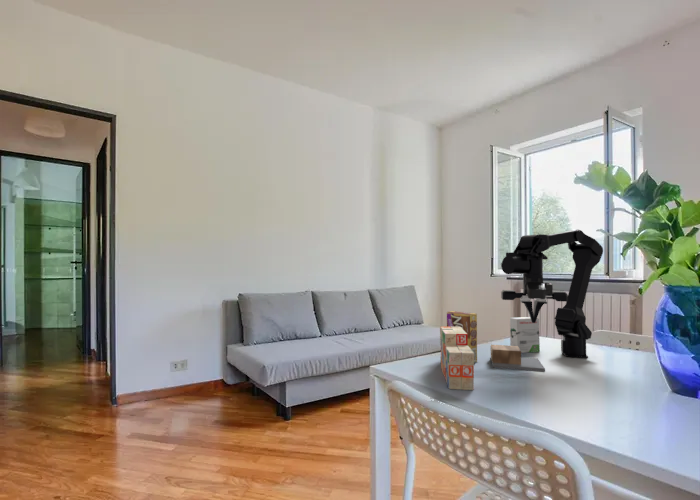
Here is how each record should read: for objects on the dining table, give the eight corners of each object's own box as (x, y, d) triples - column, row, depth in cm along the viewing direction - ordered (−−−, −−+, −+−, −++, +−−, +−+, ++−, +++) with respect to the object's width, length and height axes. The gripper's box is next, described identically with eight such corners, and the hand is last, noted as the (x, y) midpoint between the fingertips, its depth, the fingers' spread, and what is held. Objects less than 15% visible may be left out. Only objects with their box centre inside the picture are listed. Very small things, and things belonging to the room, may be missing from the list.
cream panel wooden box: (517, 346, 120) (490, 344, 123) (521, 351, 114) (492, 349, 116) (518, 358, 120) (490, 357, 123) (521, 364, 114) (492, 362, 116)
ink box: (531, 349, 137) (531, 316, 137) (540, 352, 132) (540, 318, 133) (509, 350, 136) (509, 316, 136) (517, 353, 131) (517, 318, 131)
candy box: (478, 361, 120) (477, 313, 120) (470, 364, 117) (469, 314, 118) (454, 356, 127) (453, 310, 127) (446, 358, 124) (445, 311, 125)
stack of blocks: (474, 391, 94) (474, 340, 94) (448, 389, 95) (448, 340, 95) (461, 366, 115) (461, 325, 115) (440, 366, 116) (439, 325, 116)
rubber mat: (537, 360, 121) (537, 358, 121) (544, 371, 110) (544, 368, 110) (490, 357, 125) (490, 355, 125) (493, 367, 114) (493, 364, 114)
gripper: (503, 274, 117) (504, 325, 117) (572, 275, 112) (573, 328, 111) (500, 273, 128) (501, 320, 127) (563, 273, 122) (563, 322, 122)
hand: (533, 322), depth 122 cm, fingers closed
